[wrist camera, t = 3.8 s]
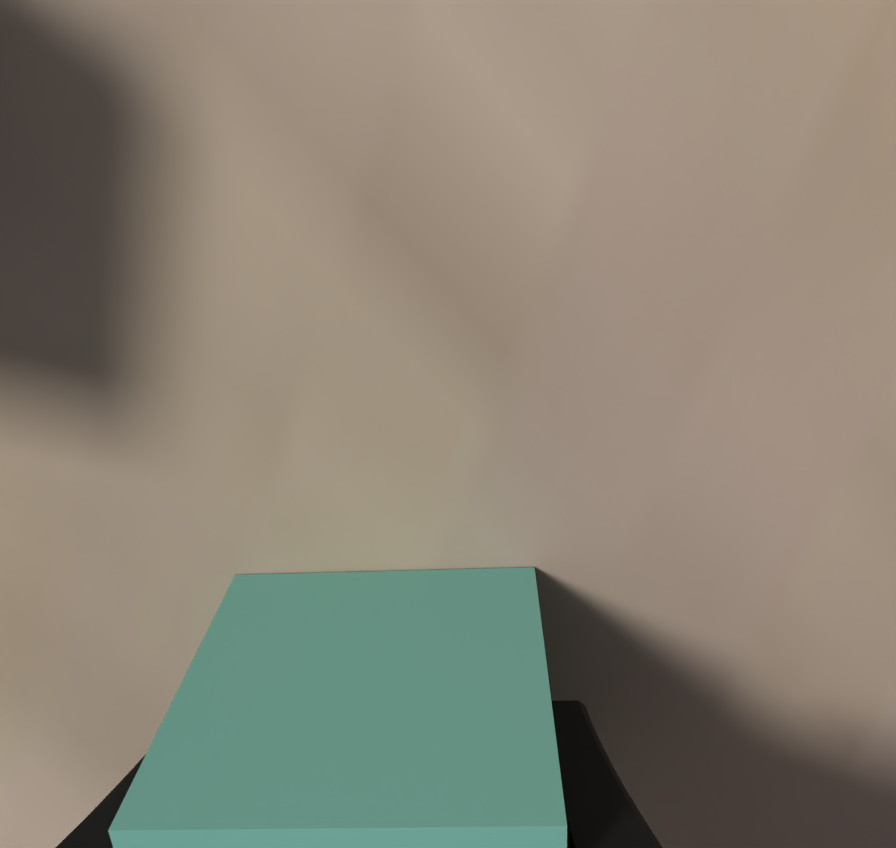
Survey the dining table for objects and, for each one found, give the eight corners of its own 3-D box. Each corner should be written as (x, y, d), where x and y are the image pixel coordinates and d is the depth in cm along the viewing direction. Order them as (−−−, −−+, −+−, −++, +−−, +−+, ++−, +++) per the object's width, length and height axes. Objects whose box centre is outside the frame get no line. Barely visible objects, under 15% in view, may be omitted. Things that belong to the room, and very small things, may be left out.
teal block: (274, 796, 15) (188, 1101, 11) (234, 575, 13) (108, 831, 9) (536, 793, 15) (564, 1103, 10) (534, 567, 13) (567, 826, 8)
